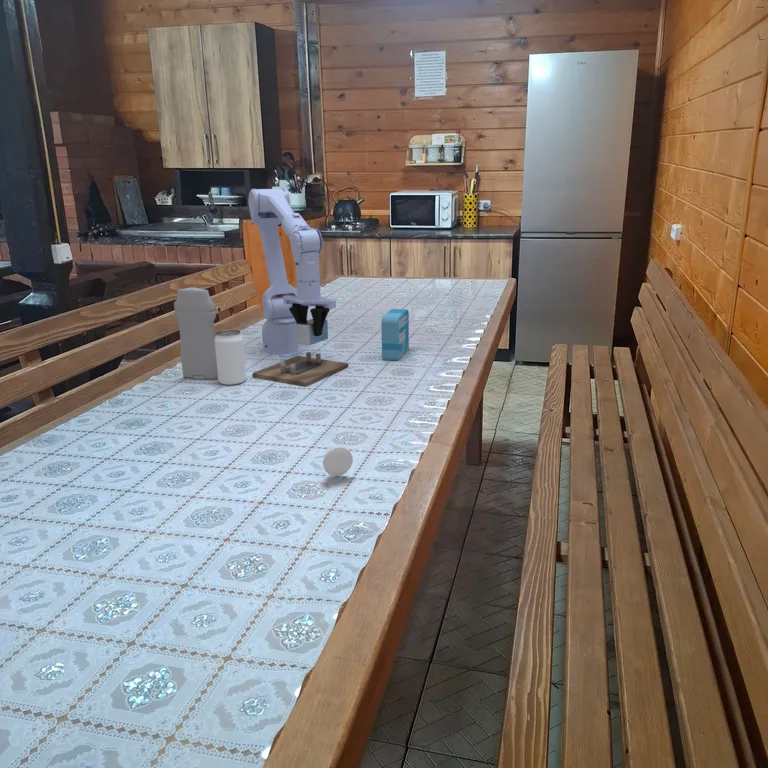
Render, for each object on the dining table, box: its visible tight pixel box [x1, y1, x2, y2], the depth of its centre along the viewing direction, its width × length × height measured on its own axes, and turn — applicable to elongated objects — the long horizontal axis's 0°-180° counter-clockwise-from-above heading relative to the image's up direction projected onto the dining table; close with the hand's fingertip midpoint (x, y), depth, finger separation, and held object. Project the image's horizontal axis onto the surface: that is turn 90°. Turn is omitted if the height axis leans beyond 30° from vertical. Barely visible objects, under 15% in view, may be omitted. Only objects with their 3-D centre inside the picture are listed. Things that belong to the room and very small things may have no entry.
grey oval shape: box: [322, 446, 354, 477], centre depth 111 cm, size 5×3×5 cm, turn 114°
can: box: [215, 329, 247, 386], centre depth 158 cm, size 6×6×12 cm
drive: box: [296, 318, 329, 346], centre depth 169 cm, size 4×8×5 cm, turn 151°
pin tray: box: [252, 351, 349, 387], centre depth 166 cm, size 16×18×4 cm
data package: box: [380, 308, 410, 362], centre depth 178 cm, size 12×4×12 cm, turn 165°
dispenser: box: [173, 286, 218, 381], centre depth 160 cm, size 11×4×22 cm, turn 77°
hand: (310, 334), depth 168 cm, fingers closed on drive, 4 cm apart
